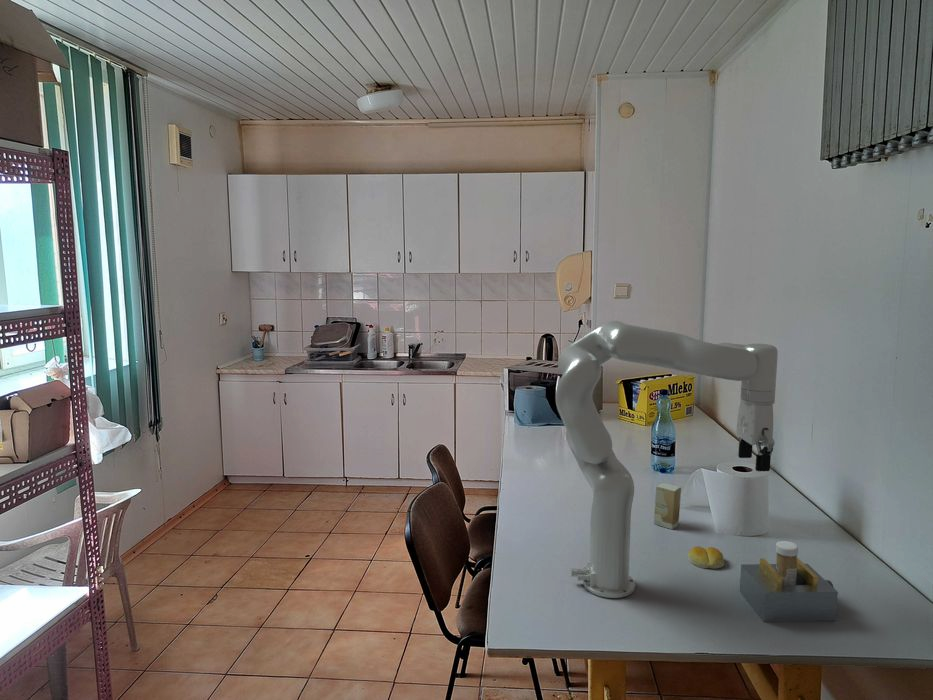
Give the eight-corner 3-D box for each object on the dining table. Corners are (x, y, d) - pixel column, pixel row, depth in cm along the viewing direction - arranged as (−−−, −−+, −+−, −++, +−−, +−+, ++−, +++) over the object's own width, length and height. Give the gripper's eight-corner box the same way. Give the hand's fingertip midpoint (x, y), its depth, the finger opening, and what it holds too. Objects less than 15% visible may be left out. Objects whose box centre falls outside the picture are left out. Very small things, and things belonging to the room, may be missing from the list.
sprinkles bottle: (770, 595, 154) (771, 541, 153) (788, 593, 155) (789, 539, 153) (782, 605, 150) (784, 549, 148) (800, 603, 150) (802, 547, 149)
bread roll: (686, 554, 179) (686, 540, 178) (721, 557, 177) (722, 543, 176) (689, 568, 171) (689, 554, 171) (725, 572, 169) (726, 557, 168)
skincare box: (653, 524, 198) (654, 485, 196) (659, 519, 201) (661, 481, 199) (673, 530, 193) (675, 490, 192) (679, 525, 197) (681, 486, 195)
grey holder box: (763, 621, 146) (766, 582, 145) (739, 591, 159) (741, 554, 158) (844, 620, 146) (847, 581, 145) (813, 590, 159) (816, 553, 158)
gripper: (727, 387, 166) (724, 453, 168) (758, 404, 149) (753, 476, 151) (757, 387, 166) (753, 452, 168) (791, 404, 149) (786, 476, 151)
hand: (753, 464), depth 160 cm, fingers open, 9 cm apart
